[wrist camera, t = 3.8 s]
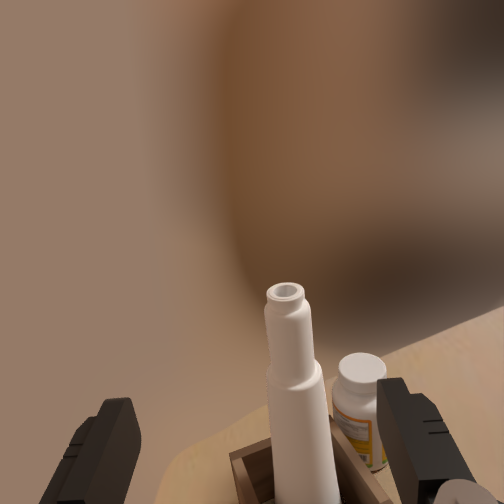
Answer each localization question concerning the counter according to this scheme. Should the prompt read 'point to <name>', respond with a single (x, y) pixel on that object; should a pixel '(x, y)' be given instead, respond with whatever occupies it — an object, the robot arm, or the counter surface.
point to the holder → (346, 465)
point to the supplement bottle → (360, 406)
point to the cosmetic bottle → (297, 403)
